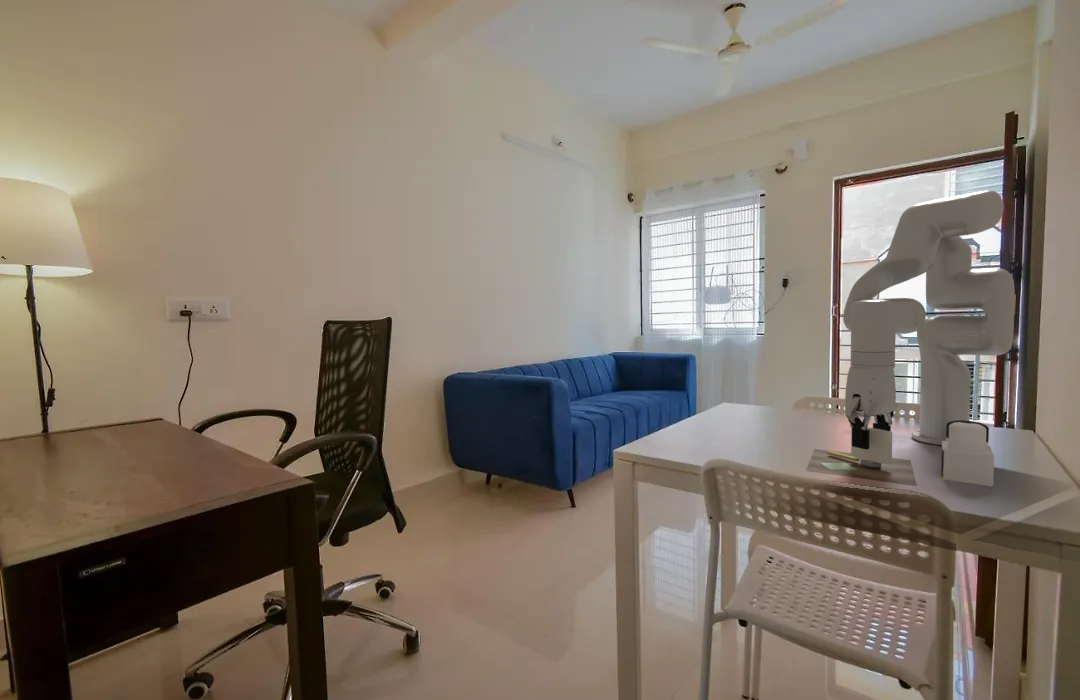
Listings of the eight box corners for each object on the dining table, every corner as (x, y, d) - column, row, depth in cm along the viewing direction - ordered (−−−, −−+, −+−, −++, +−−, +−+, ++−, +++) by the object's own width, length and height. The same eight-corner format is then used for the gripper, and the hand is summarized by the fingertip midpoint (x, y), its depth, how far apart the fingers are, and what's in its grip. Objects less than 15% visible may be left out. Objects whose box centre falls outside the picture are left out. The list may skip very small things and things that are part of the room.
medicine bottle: (940, 474, 96) (942, 416, 95) (989, 481, 91) (991, 420, 91) (941, 485, 90) (943, 423, 90) (993, 493, 86) (995, 428, 85)
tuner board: (814, 453, 112) (814, 448, 112) (910, 465, 102) (910, 459, 102) (805, 475, 98) (805, 469, 98) (916, 492, 87) (916, 485, 87)
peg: (883, 472, 95) (884, 433, 94) (823, 456, 106) (823, 421, 106) (894, 469, 96) (894, 431, 96) (833, 454, 108) (834, 419, 107)
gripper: (878, 356, 104) (877, 435, 105) (827, 361, 97) (826, 447, 98) (917, 358, 97) (915, 443, 99) (865, 364, 90) (864, 456, 91)
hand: (871, 444), depth 98 cm, fingers open, 6 cm apart
